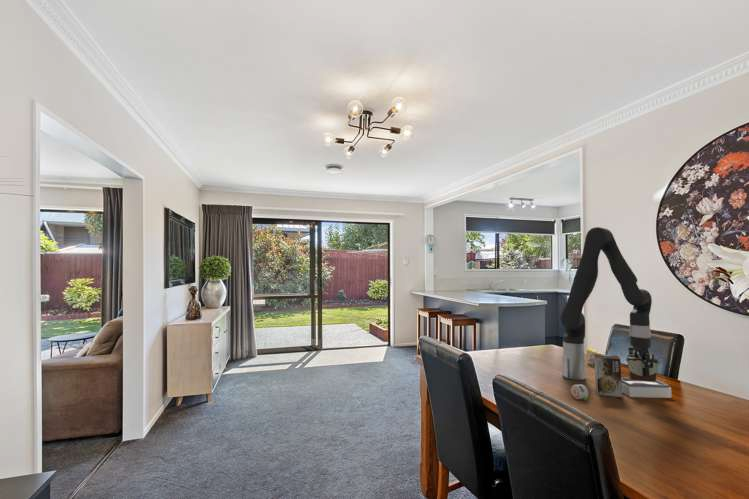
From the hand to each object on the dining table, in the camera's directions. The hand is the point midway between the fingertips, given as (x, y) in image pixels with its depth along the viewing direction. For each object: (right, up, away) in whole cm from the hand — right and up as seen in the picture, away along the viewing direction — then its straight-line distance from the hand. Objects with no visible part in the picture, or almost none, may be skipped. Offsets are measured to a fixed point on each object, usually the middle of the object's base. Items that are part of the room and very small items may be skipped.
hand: (641, 374), depth 159 cm
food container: (0, -2, +1) cm, 3 cm away
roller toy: (-31, -8, -7) cm, 32 cm away
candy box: (+6, -10, +39) cm, 41 cm away
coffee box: (-15, -8, -1) cm, 17 cm away
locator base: (0, -8, 0) cm, 8 cm away
